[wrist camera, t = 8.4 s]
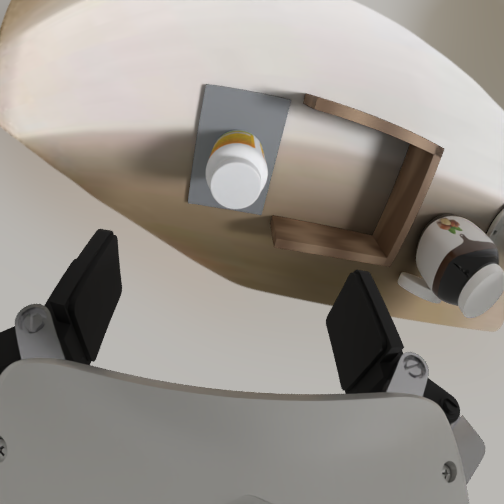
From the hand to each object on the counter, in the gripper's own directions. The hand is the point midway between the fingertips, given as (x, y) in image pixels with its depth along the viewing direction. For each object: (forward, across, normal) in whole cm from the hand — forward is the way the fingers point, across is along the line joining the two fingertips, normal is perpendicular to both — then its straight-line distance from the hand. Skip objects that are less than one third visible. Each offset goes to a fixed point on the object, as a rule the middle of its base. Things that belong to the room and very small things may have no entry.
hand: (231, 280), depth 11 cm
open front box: (+18, -11, 0) cm, 21 cm away
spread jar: (+19, -27, +6) cm, 34 cm away
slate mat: (+18, 0, 0) cm, 18 cm away
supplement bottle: (+18, 0, 0) cm, 18 cm away
